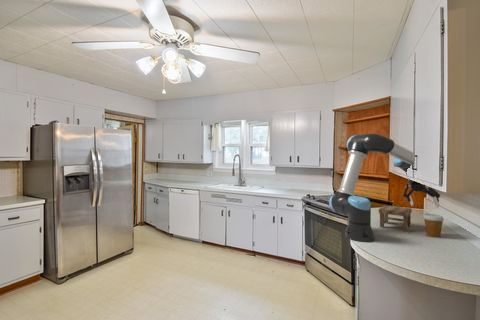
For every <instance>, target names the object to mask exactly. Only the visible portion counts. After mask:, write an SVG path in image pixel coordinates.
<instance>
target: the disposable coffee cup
mask: <svg viewBox="0 0 480 320" xmlns="http://www.w3.org/2000/svg"><path fill="white" fill-rule="evenodd" d="M422 218H423V220H424V221H423V222H424V227H425V233H426V236H427V237H430V238H434V239H436V238H437V239H438V238H441V234H442V230H443V229H442V228H443V221H444V220H445V219H444V217H443V215H440V214H436V213H434V214H433V213H425V214H423V216H422Z"/></svg>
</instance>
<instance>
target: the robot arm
mask: <svg viewBox="0 0 480 320" xmlns="http://www.w3.org/2000/svg"><path fill="white" fill-rule="evenodd" d="M346 147H347V153H348V155H349V156H348V160H347V163H346V167H345V170H344V173H343V176H342V179H341V183H340V187H339V189H337V190H336V191H335V194H332V195H331V196H330V198H329V200H328V201H329V202H328V204H329V208H330V210H331V211H332V212H334V213H336V214H339V215H342V216H346V217H348V219H347V220H348V224H347V226H346V228H345V232H344V233H345V237H346V238H347V239H349V240H352V241H356V242H362V243H364V242H367V243H368V242H373V241H375V233H374V232H373V227H372V223H371V222H372V221H371V220H372V217H371V216H372V212H371V211H372V206H371V200H370V199H369V198H367V197H364V196H359V195H356V194H354V192H355V190H356V185H357V182H358V180H359V175H360V172H361V169H362V166H363V163H364V159H365V158H367V157H368V154H369V153H381V154H383V155H389V156H391V157H393V159H392V161H393V164H394V165H395V166H397V167H398V168H399V169H400V170H402V171H403V172H405V174H406V177H407V180H408V183H406V184H405V189H404V192H403V195H402V197H403V198H405V199H406V200H407V202H409V203H410V208H411V207H413V206H414V205H415V203H414V200H413V198H412V194H413V193H414V192H422V193H424V194H426V195H428V196H430V197H431V198H432V200H433V202H434V205H435V207H436V208H437V209H438V208H439V207H440V203H439V202H440V199H439V198H440V197H441V194H440V193H439V192H437V191H436V189H434V188H433V187H432V188H433V189H432V188H430V187H427V186H425V184H424V185H422V184H420V183H417V182H415V181H412V180H410V179H409V178H408V176H407V173H406V172H407V169H408V168H410V166H411V165H412V164H413V162H414V160H415V154H416V153H415V152H413V151H411V150H409V149H407V148H405V147H403V146H401V145H399V144H398V143H395V141H394V140H393V139H391V138H390V137H387V136H384V135H382V134H379V133H373V132H372V133H363V134H355V135H352V136H350V137H349V138H348V139H347V142H346ZM409 189H411V190H410V191H409V192H408V190H409ZM407 192H408V193H407Z"/></svg>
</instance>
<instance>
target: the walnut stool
mask: <svg viewBox="0 0 480 320" xmlns="http://www.w3.org/2000/svg"><path fill="white" fill-rule="evenodd" d="M412 211H413V210H412V208H411V207H403V206H402V207H401V206H392V205H382V207H380V208H378V214H379V228H385V225H391V226H392V225H393V226H400V227H403V228H402V229H403V232H406V233H408V231H409V228H410V227H411V226H412V225H411V224H412V223H411V222H412V221H411V218H412V216H411V213H412ZM389 215H390V216H391V215H392V216H399V217H403V218H396V217H390V216H389ZM390 220H391V221H390ZM392 221H398V222H392ZM401 222H403V223H401Z"/></svg>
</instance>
